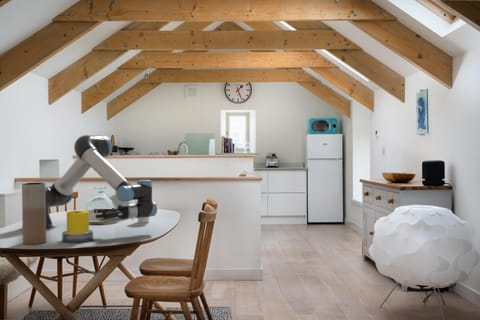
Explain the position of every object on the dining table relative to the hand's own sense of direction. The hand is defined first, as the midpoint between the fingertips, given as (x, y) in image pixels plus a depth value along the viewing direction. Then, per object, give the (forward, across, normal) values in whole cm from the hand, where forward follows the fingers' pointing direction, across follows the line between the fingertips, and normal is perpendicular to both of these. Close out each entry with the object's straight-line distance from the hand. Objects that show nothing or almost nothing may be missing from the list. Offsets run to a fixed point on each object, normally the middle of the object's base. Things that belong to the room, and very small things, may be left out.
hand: (84, 215), depth 219 cm
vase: (+21, +6, -12) cm, 25 cm away
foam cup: (-44, +33, -12) cm, 56 cm away
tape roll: (+3, 0, -8) cm, 8 cm away
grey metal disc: (+3, 0, -12) cm, 12 cm away
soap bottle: (-38, +58, -12) cm, 70 cm away
